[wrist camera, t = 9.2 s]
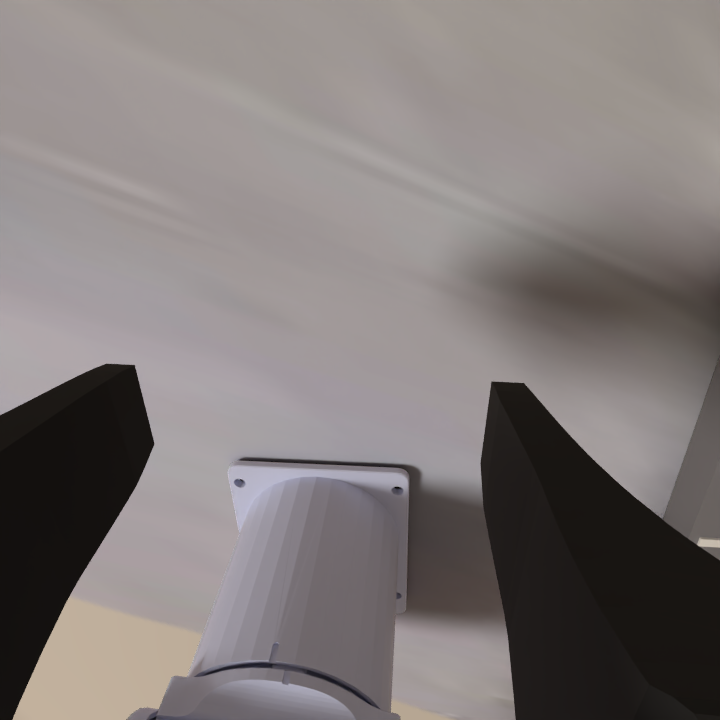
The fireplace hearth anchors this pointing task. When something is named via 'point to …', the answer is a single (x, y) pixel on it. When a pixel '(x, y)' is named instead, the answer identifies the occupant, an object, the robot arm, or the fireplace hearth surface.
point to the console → (700, 478)
